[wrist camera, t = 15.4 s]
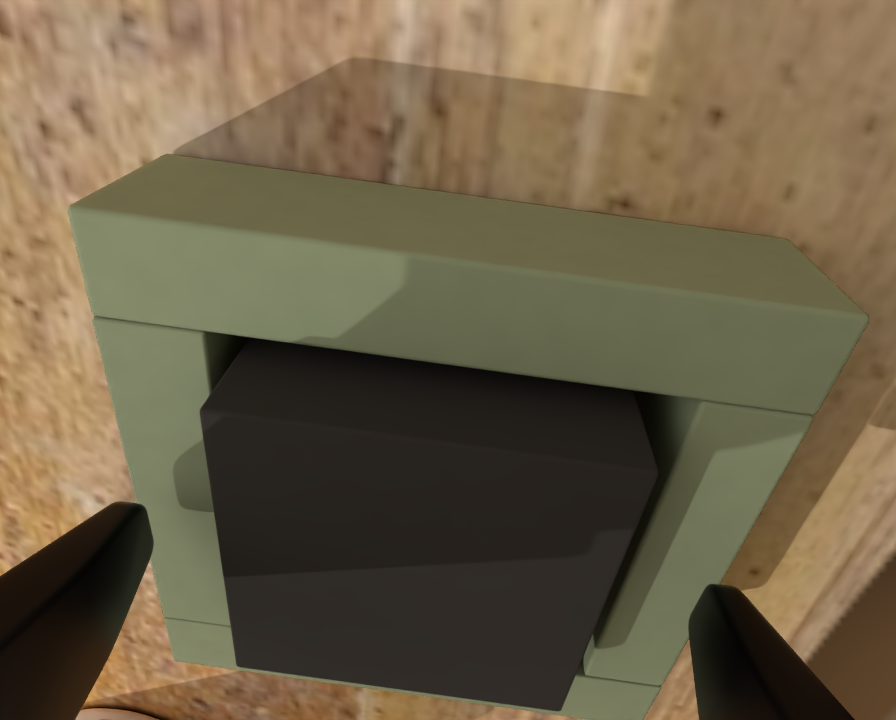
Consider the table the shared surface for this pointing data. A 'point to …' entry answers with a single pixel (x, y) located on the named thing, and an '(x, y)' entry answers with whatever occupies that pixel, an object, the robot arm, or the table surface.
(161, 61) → the table surface
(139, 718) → the pill bottle
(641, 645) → the green square frame
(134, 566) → the robot arm
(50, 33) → the table surface
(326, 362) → the black block
